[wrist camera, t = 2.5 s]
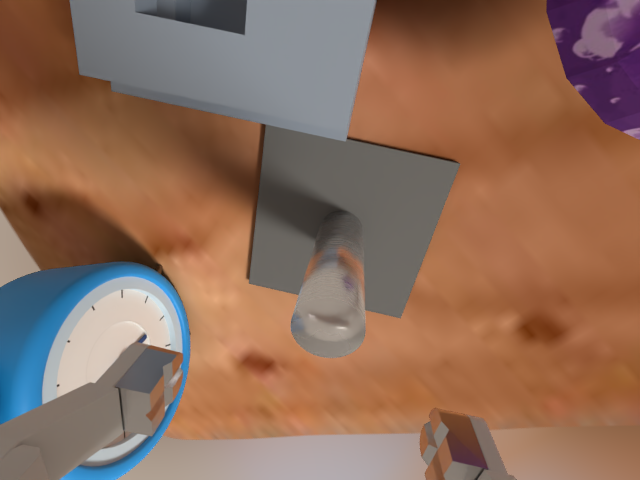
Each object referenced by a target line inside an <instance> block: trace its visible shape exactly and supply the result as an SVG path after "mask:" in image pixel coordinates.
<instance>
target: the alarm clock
mask: <svg viewBox="0 0 640 480" xmlns="http://www.w3.org/2000/svg"><path fill="white" fill-rule="evenodd" d="M161 271H162V266H161V265H158V266H157V268H156V269H155V270H154V269H152V268H150V267H148V266H146V265H143V264H139V263H134V262H124V261H119V262H108V263H99V264H91V265H82V266H73V267H64V268H55V269H48V270H42V271H38V272H34V273H31V274H28V275H25V276H23V277H20V278H17V279H15V280H13V281H11V282H9V283H7V284H5V285H4V286H2V287H0V425H1V424H3V423H5V422H7V421H9V420H11V419H13V418H15V417H18V416H20V415H22V414H24V413H26V412H28V411H30V410H32V409H34V408H37V407H39V406H41V405H43V404H45V403H47V402H49V401H51V400H53V399H55V398H58V397H60V396H62V395H64V394H66V393H68V392H70V391H72V390H74V389H77V388H79V387H81V386H83V385H85V384H87V383H89V382H92V383H96V381H97V380H98V379H99V378H100V377H101V376H102V375H103V374H104V373H105V372H106V371H107V369H108V368H109V367H110V366H111V365H112V364H113V363H114V362H115V361H116V360H117V359H118V357H119V356H120V355H121V354H122V353H123V352H124V351H125V350H126V349H127V348H128V347H129V345H131V344H132V343H134V342H139V343H144V344H148V345H152V346H156V347H160V348H164V349H168V350H172V351H177V352H180V353H183V362H182V364H181V365H180V368H181V369H182V370H183V379H182V384H181V386H180V389H179V392H178V394H177V396H176V397H175V399H174V401H173V402H172V403H171V404H169V405H167V406H166V407H165V416H164V418H163V419H162V421H161V423H160V424H159V426H158V428H157V429H156V431H155V433H154V434H153V436H147V435H142V434H137V433H132V432H126V431H123V434H121V435H120V436H118V437H117V438H116V439H114V440H113V441H112V442H110V443H109V444H107V445H106V446H105V447H103V448H102V449H101V450H99V451H98V452H96V453H95V454H94V455H92V456H91V457H90V458H88V459H87V460H86V461H84V462H83V463H81V464H80V465H79V466H77V467H76V468H75V469H73V470H72V471H70V472H69V473H68V474H66V475H65V476H64V477H62V478H61V479H60V480H116V479H118V478H119V477H121V476H122V475H124V474H126V473H127V472H128V471H129V470H131V469H132V468H133V467H135V466H136V465H137V464H138V463H139V462H140V461H141V460H142V459H143V458H144V457H145V456H146V455H147V454H148V453H149V452H150V451H151V450H152V449H153V447H154V446H155V445H156V444H157V442H158V441H159V439H160V438H161V437H162V435H163V434H164V432H165V430H166V429H167V427H168V425H169V424H170V422H171V420H172V418H173V416H174V414H175V412H176V409H177V407H178V404H179V402H180V399H181V396H182V393H183V390H184V387H185V383H186V379H187V374H188V368H189V360H190V332H189V325H188V320H187V315H186V312H185V309H184V306H183V303H182V301H181V299H180V297H179V295H178V293H177V292H176V290H175V289H174V287H173V286H172V285H171V283H170V282H169V281H168V280H167V279H166V278H165V277H164V276H162V275H161Z"/></svg>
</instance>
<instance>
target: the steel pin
mask: <svg viewBox="0 0 640 480" xmlns="http://www.w3.org/2000/svg"><path fill="white" fill-rule="evenodd" d="M365 331H366V330H365V289H364V247H363V227H362V224H361V222H360V220H359V219H358V218H357V217H356V216H355V215H354V214H352V213H350V212H347V211H335V212H332V213H330V214H328V215H327V216H326V217H325V218H324V219H323V220H322V222H321V224H320V228H319V231H318V234H317V237H316V241H315V244H314V247H313V251H312V254H311V257H310V260H309V264H308V267H307V270H306V274H305V277H304V280H303V283H302V287H301V290H300V293H299V297H298V300H297V303H296V306H295V310H294V313H293V316H292V320H291V332H292V335H293V337H294V339H295V340H296V342H297V343H298V344H299V345H300V346H301V347H302V348H303V349H304V350H306V351H308V352H309V353H311V354H314V355H316V356H320V357H325V358H337V357H343V356H346V355H348V354H350V353H352V352H354V351H355V350H356V349H358V348H359V346H360V345H361V344H362V342H363V340H364V337H365Z"/></svg>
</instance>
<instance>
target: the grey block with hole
mask: <svg viewBox="0 0 640 480" xmlns="http://www.w3.org/2000/svg"><path fill="white" fill-rule="evenodd" d="M376 2H377V0H70V7H71V15H72V22H73V30H74V37H75V45H76V52H77V60H78V67H79V75H84V76H88V77H93V78H98V79H102V80H107V81H111V90H112V91H113V92H118V93H122V94H127V95H132V96H136V97H141V98H146V99H150V100H155V101H160V102H164V103H169V104H173V105H178V106H183V107H187V108H192V109H197V110H201V111H206V112H210V113H215V114H220V115H224V116H229V117H234V118H238V119H243V120H248V121H252V122H257V123H261V124H266V125H271V126H275V127H280V128H285V129H289V130H294V131H299V132H303V133H308V134H312V135H317V136H322V137H326V138H331V139H336V140H340V141H345V142H346V139H347V135H348V130H349V125H350V121H351V116H352V112H353V107H354V103H355V98H356V93H357V89H358V84H359V80H360V75H361V71H362V66H363V61H364V57H365V52H366V48H367V43H368V39H369V34H370V29H371V25H372V20H373V16H374V11H375V7H376Z"/></svg>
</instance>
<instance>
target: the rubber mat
mask: <svg viewBox="0 0 640 480" xmlns="http://www.w3.org/2000/svg"><path fill="white" fill-rule="evenodd" d="M459 166H460V163H458V162H454V161H449V160H445V159H440V158H435V157H431V156H426V155H421V154H417V153H412V152H407V151H403V150H398V149H393V148H389V147H384V146H380V145H375V144H370V143H366V142H361V141H356V140H352V139H346V142H345V141H340V140H336V139H331V138H326V137H322V136H317V135H312V134H308V133H303V132H299V131H294V130H289V129H285V128H280V127H275V126H271V125H266V129H265V138H264V147H263V157H262V166H261V175H260V185H259V194H258V203H257V213H256V222H255V231H254V241H253V250H252V259H251V269H250V278H249V284H253V285H257V286H262V287H266V288H271V289H275V290H279V291H284V292H288V293H292V294H297V295H299V293H300V290H301V287H302V283H303V280H304V277H305V274H306V270H307V267H308V264H309V260H310V257H311V254H312V251H313V247H314V244H315V241H316V237H317V234H318V231H319V228H320V224H321V222H322V220H323V219H324V218H325V217H326V216H327V215H328V214H330V213H332V212H335V211H347V212H350V213H352V214H354V215H355V216H356V217H357V218H358V219H359V220H360V222H361V224H362V227H363V247H364V289H365V310H367V311H371V312H376V313H380V314H384V315H389V316H393V317H398V318H401V316H402V313H403V311H404V308H405V305H406V303H407V300H408V298H409V295H410V293H411V290H412V287H413V285H414V282H415V280H416V277H417V274H418V272H419V269H420V267H421V264H422V262H423V259H424V256H425V254H426V251H427V249H428V246H429V243H430V241H431V238H432V236H433V233H434V230H435V228H436V225H437V223H438V220H439V218H440V215H441V212H442V210H443V207H444V205H445V202H446V199H447V197H448V194H449V192H450V189H451V187H452V184H453V181H454V179H455V176H456V174H457V171H458V168H459Z"/></svg>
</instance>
